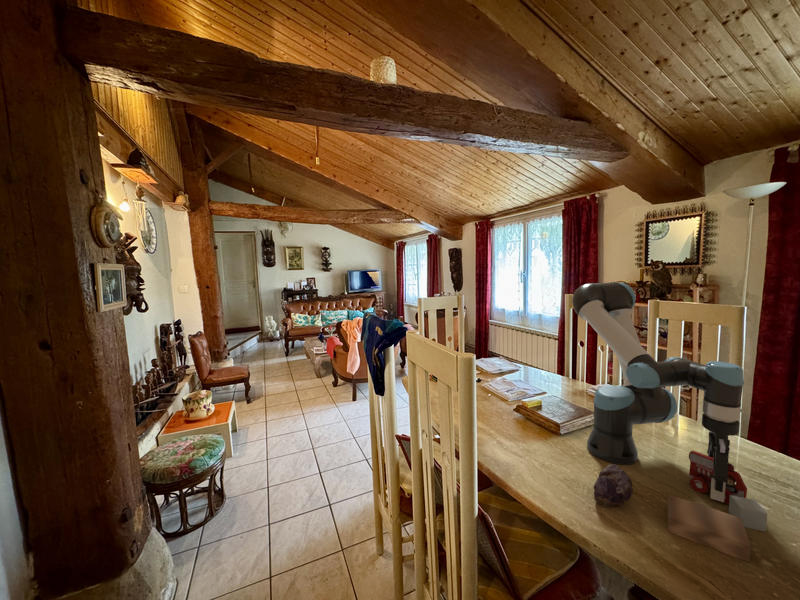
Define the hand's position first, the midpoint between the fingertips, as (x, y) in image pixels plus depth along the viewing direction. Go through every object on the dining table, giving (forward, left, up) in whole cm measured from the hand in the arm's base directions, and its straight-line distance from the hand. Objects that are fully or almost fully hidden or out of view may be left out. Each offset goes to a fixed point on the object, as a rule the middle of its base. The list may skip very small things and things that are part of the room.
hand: (714, 490), depth 93 cm
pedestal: (-4, -20, -1) cm, 21 cm away
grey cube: (+5, -9, -1) cm, 10 cm away
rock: (-23, -20, -1) cm, 31 cm away
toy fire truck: (0, 0, -1) cm, 1 cm away
